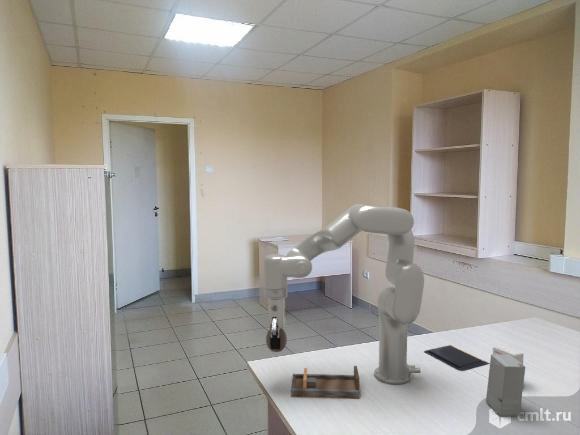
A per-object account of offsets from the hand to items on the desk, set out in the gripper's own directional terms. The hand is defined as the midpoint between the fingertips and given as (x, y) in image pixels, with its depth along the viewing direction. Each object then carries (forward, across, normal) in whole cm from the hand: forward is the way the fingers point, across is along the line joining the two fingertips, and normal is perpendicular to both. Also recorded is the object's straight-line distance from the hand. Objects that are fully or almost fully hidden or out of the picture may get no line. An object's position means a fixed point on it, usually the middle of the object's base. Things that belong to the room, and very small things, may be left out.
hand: (276, 343), depth 144 cm
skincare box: (+15, -10, -70) cm, 72 cm away
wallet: (+16, +27, -67) cm, 74 cm away
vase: (+2, 0, 0) cm, 2 cm away
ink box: (+15, +7, -78) cm, 80 cm away
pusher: (+14, 0, -11) cm, 18 cm away
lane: (+15, 0, -16) cm, 22 cm away
